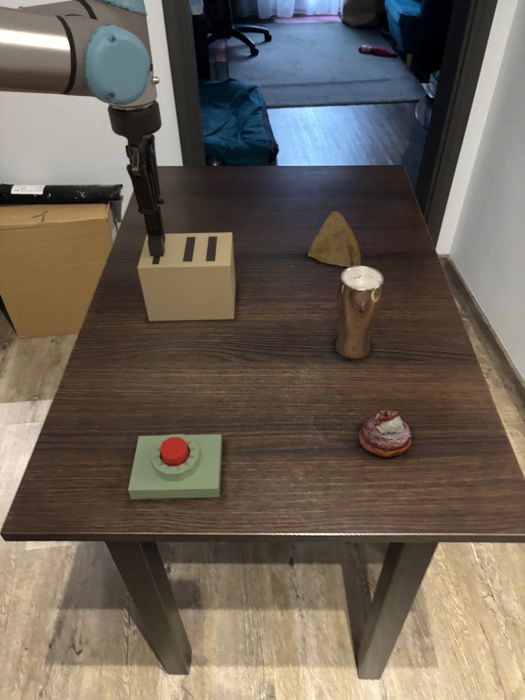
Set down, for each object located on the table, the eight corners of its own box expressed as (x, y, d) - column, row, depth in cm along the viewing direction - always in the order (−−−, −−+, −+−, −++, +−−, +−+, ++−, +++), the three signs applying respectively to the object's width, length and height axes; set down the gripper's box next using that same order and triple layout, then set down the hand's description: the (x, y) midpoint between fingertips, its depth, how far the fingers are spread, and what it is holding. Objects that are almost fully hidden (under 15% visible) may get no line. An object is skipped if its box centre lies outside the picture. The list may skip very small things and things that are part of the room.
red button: (160, 466, 71) (158, 458, 70) (163, 444, 73) (161, 436, 72) (187, 465, 71) (185, 458, 70) (189, 444, 73) (188, 436, 72)
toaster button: (150, 256, 92) (147, 241, 90) (151, 250, 94) (148, 235, 92) (163, 256, 92) (161, 241, 90) (165, 249, 94) (162, 235, 92)
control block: (131, 499, 71) (125, 482, 69) (141, 445, 78) (136, 428, 75) (219, 497, 71) (217, 480, 68) (222, 443, 78) (220, 426, 75)
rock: (376, 255, 109) (351, 228, 114) (361, 235, 102) (335, 206, 108) (336, 290, 111) (313, 261, 117) (318, 272, 104) (295, 242, 110)
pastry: (393, 413, 81) (399, 391, 78) (422, 450, 76) (429, 428, 73) (348, 429, 79) (351, 407, 76) (374, 468, 74) (379, 447, 71)
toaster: (148, 321, 99) (137, 267, 90) (156, 286, 107) (146, 233, 98) (234, 319, 98) (230, 265, 90) (235, 284, 107) (232, 231, 98)
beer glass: (329, 358, 90) (336, 287, 80) (335, 331, 95) (342, 262, 85) (370, 364, 89) (383, 293, 79) (374, 337, 94) (386, 267, 84)
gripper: (152, 117, 73) (174, 261, 89) (163, 87, 82) (181, 222, 98) (97, 118, 73) (130, 262, 89) (115, 88, 82) (141, 223, 98)
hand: (157, 241), depth 94 cm, fingers closed
